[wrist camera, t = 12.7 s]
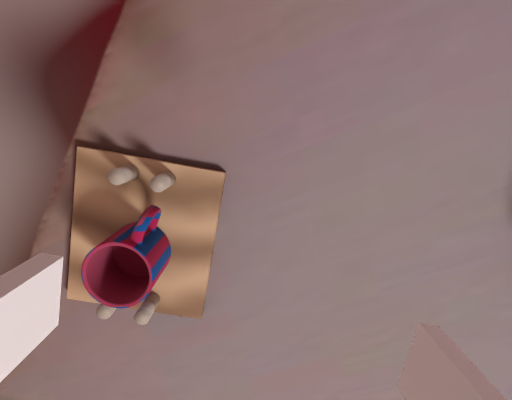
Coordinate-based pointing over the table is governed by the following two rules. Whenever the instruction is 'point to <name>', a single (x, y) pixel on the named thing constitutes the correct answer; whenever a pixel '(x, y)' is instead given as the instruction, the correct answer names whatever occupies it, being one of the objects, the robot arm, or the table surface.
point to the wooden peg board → (171, 223)
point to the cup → (127, 262)
